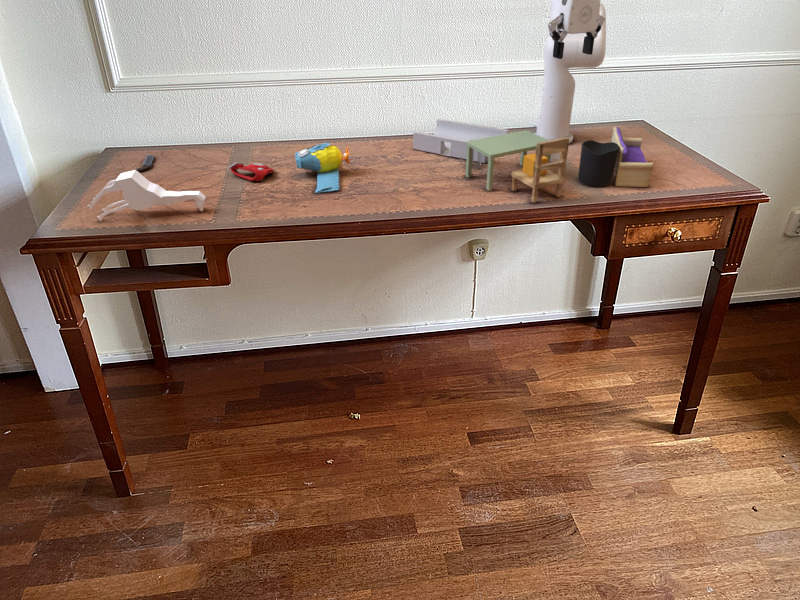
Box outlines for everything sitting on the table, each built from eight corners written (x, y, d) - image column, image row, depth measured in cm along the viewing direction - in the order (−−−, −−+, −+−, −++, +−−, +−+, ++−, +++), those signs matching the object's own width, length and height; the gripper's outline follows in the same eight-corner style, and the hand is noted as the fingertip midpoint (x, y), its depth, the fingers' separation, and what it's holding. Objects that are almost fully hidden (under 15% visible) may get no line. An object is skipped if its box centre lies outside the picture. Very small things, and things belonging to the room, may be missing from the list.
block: (522, 171, 157) (523, 155, 154) (535, 168, 158) (537, 152, 156) (532, 177, 153) (534, 160, 151) (546, 174, 155) (548, 157, 153)
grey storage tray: (508, 147, 188) (510, 121, 183) (478, 169, 173) (479, 141, 168) (438, 134, 199) (438, 109, 195) (404, 154, 184) (404, 127, 180)
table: (464, 176, 168) (466, 141, 163) (523, 163, 176) (526, 129, 170) (488, 191, 159) (490, 155, 154) (549, 177, 167) (553, 142, 161)
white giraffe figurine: (124, 251, 153) (210, 210, 150) (80, 197, 144) (170, 153, 141) (129, 242, 158) (212, 202, 154) (86, 189, 149) (174, 146, 146)
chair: (510, 189, 160) (515, 132, 151) (537, 183, 163) (544, 127, 155) (533, 203, 152) (539, 144, 144) (561, 196, 156) (569, 138, 147)
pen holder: (593, 190, 159) (599, 153, 153) (569, 178, 166) (574, 143, 160) (619, 183, 162) (627, 147, 157) (595, 172, 169) (601, 137, 164)
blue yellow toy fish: (349, 159, 156) (291, 163, 155) (352, 190, 161) (295, 195, 160) (347, 126, 180) (296, 130, 179) (350, 154, 184) (300, 158, 184)
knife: (149, 171, 176) (149, 168, 175) (135, 172, 175) (135, 170, 175) (156, 154, 187) (156, 152, 187) (143, 155, 187) (142, 153, 186)
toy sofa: (648, 188, 159) (657, 151, 153) (614, 187, 160) (621, 149, 155) (637, 160, 176) (644, 125, 171) (606, 159, 178) (612, 124, 172)
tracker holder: (271, 163, 176) (276, 167, 167) (270, 179, 177) (275, 183, 168) (228, 159, 172) (231, 162, 163) (227, 175, 173) (230, 179, 164)
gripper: (564, -15, 141) (554, 62, 150) (620, -20, 147) (608, 54, 157) (543, -18, 147) (536, 57, 156) (599, -22, 153) (588, 49, 162)
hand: (572, 55), depth 156 cm, fingers open, 9 cm apart
